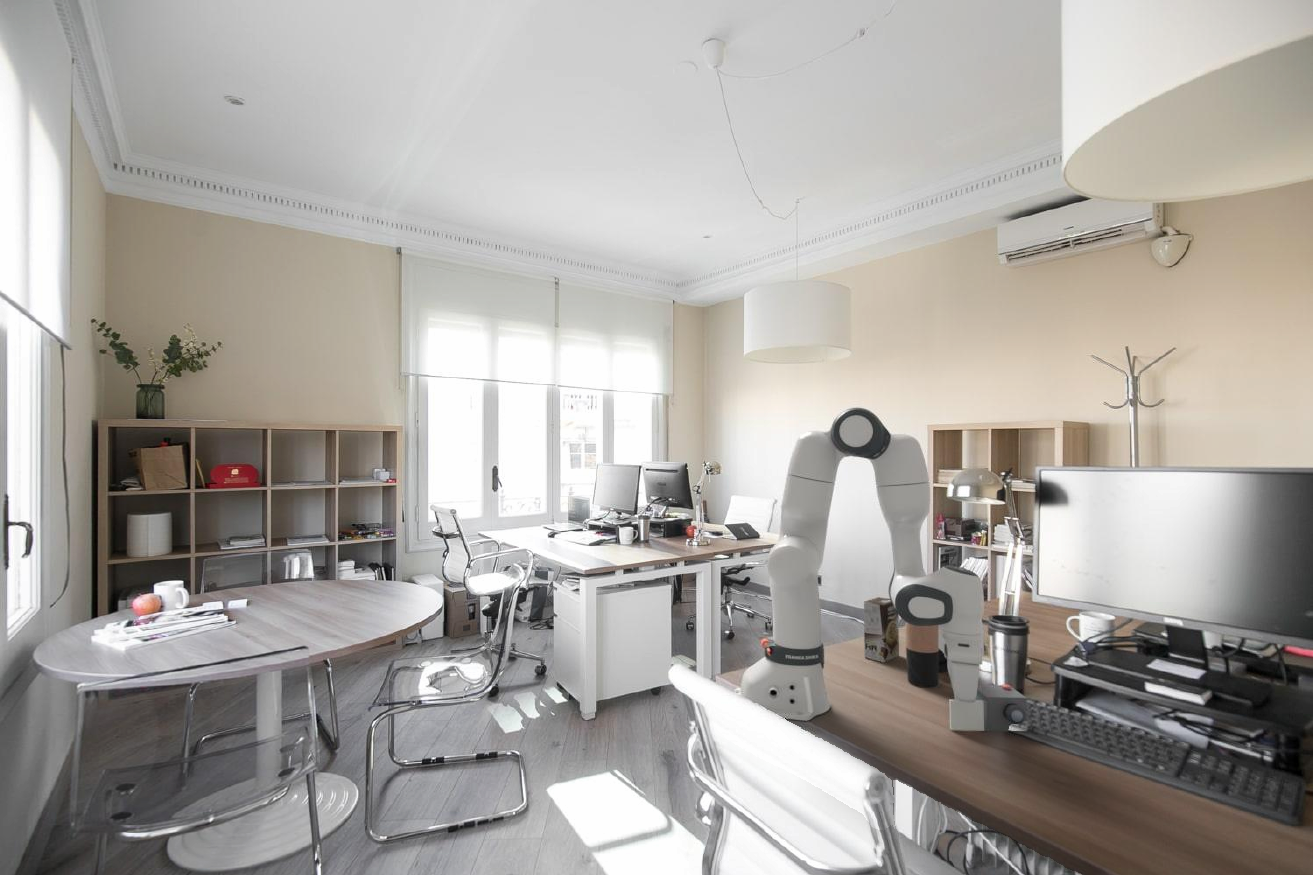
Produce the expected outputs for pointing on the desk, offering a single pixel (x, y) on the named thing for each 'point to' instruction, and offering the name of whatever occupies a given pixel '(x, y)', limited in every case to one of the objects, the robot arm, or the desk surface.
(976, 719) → the side door
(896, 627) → the coffee box
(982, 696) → the camera block
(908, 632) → the travel mug
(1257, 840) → the desk surface
